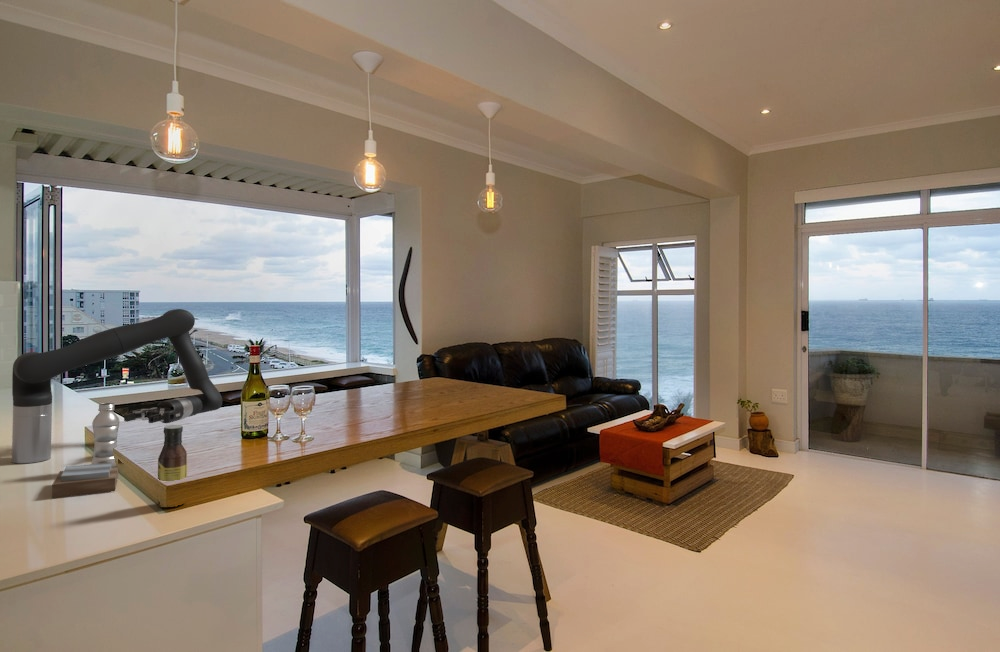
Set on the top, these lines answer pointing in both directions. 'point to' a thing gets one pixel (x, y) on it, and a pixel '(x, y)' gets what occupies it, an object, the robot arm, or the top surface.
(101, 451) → the silver bottle
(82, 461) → the top surface
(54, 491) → the plinth
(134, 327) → the robot arm
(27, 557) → the top surface
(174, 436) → the sauce bottle
